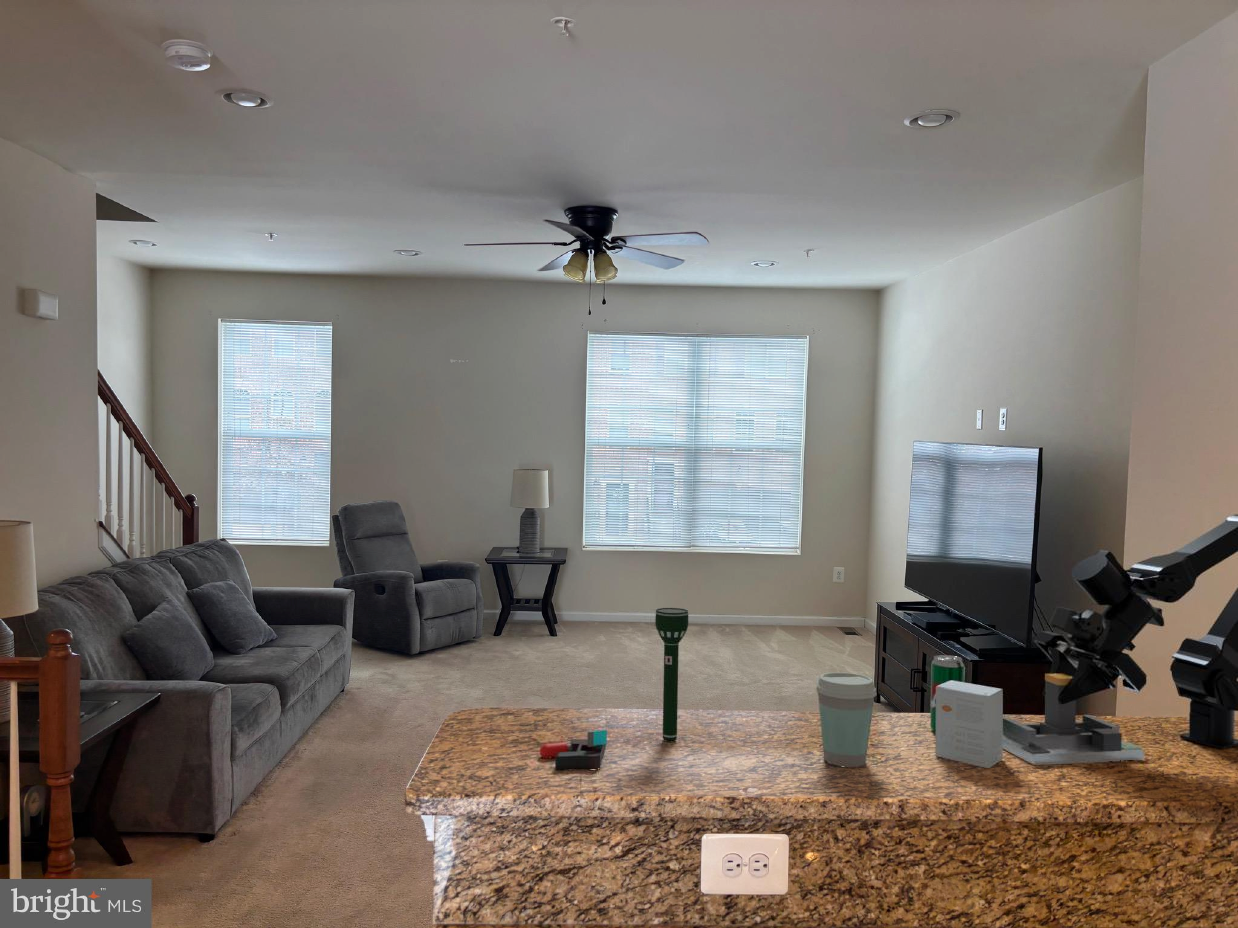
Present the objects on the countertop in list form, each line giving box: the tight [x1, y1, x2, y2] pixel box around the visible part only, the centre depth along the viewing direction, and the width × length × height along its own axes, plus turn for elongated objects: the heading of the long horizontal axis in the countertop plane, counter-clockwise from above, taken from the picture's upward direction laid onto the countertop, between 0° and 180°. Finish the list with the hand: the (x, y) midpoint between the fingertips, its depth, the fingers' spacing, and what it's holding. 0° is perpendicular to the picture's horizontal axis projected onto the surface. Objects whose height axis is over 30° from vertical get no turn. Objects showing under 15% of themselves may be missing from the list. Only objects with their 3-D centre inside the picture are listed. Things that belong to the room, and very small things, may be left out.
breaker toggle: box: [1039, 673, 1081, 735], centre depth 134 cm, size 4×4×9 cm
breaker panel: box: [1003, 714, 1145, 766], centre depth 134 cm, size 18×13×4 cm
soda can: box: [929, 654, 966, 733], centre depth 142 cm, size 5×5×12 cm
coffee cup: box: [815, 671, 877, 768], centre depth 127 cm, size 8×9×12 cm
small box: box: [935, 680, 1004, 769], centre depth 129 cm, size 8×6×10 cm
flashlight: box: [655, 607, 689, 743], centre depth 135 cm, size 5×5×20 cm
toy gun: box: [539, 728, 608, 771], centre depth 126 cm, size 10×12×5 cm
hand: (1052, 699), depth 134 cm, fingers closed on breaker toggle, 3 cm apart
